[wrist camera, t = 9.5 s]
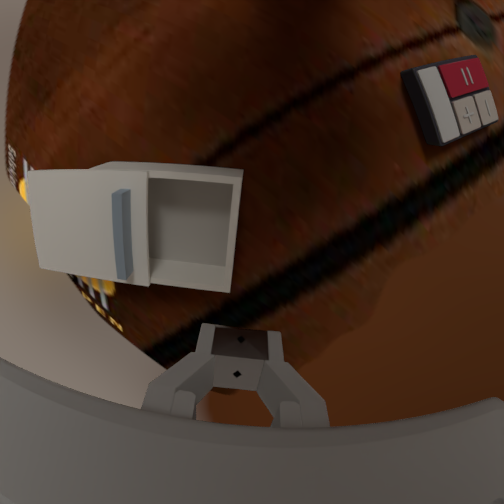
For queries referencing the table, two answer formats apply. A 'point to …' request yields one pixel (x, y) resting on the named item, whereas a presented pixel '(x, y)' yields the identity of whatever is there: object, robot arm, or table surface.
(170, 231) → the box
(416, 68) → the calculator
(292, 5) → the table surface
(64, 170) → the lid
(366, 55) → the table surface
